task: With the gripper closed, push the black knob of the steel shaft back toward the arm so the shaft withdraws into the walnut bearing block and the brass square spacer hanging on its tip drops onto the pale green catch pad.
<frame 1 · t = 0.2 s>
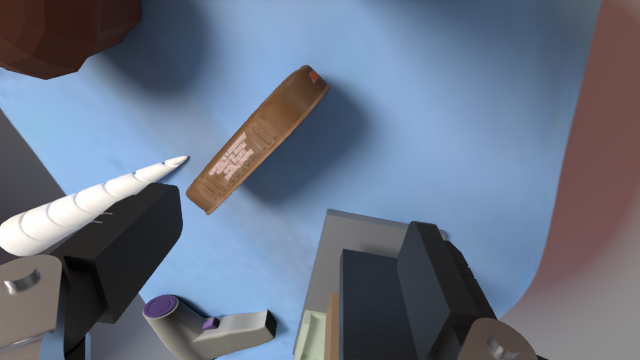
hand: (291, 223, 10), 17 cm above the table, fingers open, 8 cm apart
infrared thermometer: (218, 307, 42), on the table
shaft rig: (355, 301, 38), on the table
tin: (266, 124, 27), on the table
unicorn horn: (101, 191, 33), on the table
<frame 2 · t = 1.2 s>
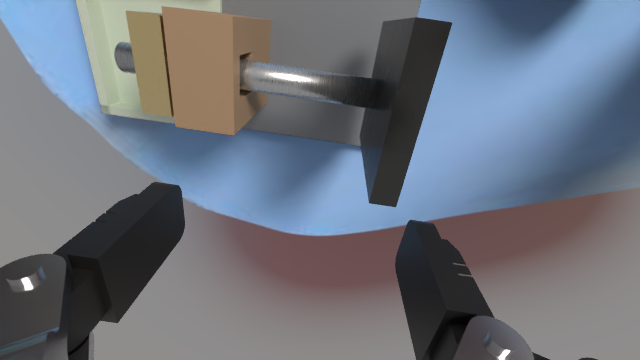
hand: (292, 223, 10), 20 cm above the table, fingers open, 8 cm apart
shaft rig: (250, 59, 27), on the table
shaft: (254, 81, 19), point 10 cm above the table, slide at 0.0 cm, touching spacer
spacer: (194, 58, 23), point 4 cm above the table, touching shaft
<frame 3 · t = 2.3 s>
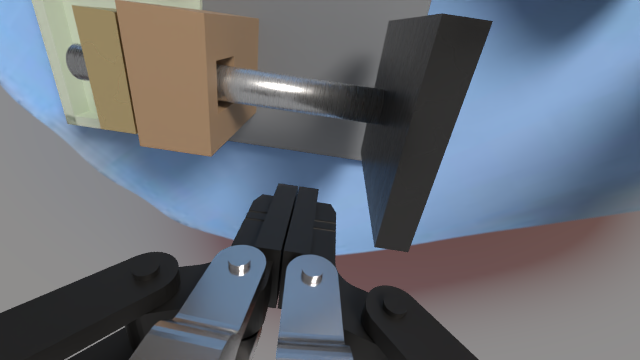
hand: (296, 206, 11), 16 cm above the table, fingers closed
shaft rig: (236, 63, 24), on the table
shaft: (234, 91, 15), point 10 cm above the table, slide at 0.0 cm, touching spacer
spacer: (168, 62, 20), point 4 cm above the table, touching shaft
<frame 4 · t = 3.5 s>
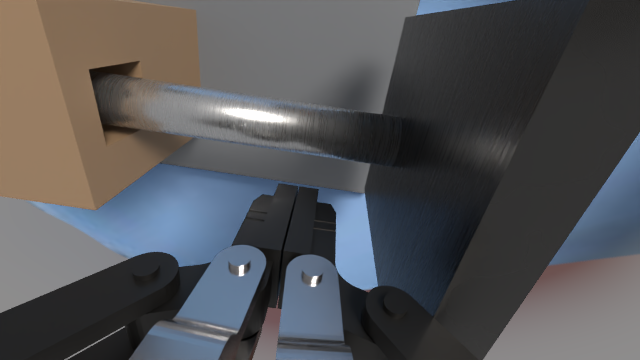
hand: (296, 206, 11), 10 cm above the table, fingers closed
shaft rig: (175, 68, 19), on the table
shaft: (177, 123, 10), point 9 cm above the table, slide at 1.9 cm, touching hand, spacer
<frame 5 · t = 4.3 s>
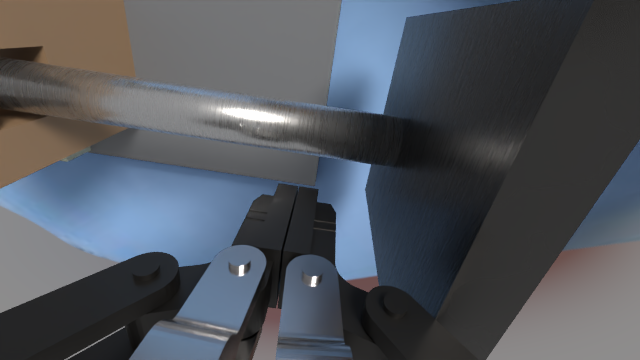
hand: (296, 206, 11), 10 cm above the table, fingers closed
shaft rig: (113, 59, 19), on the table
shaft: (178, 123, 10), point 9 cm above the table, slide at 6.0 cm, touching hand
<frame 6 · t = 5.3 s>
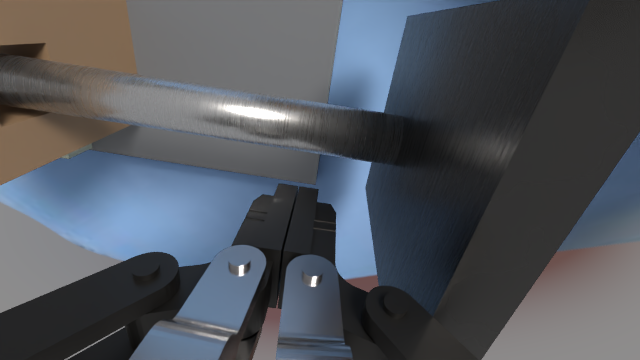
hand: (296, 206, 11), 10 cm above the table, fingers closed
shaft rig: (114, 56, 19), on the table
shaft: (179, 120, 10), point 10 cm above the table, slide at 6.0 cm
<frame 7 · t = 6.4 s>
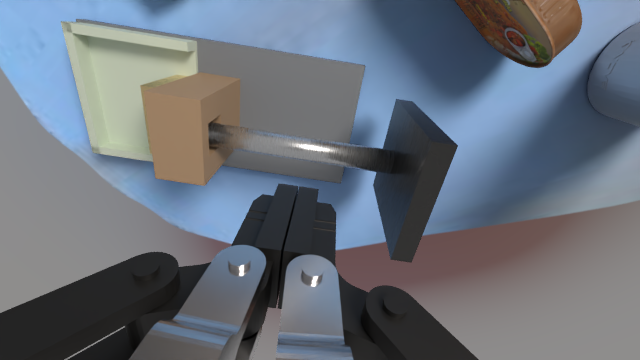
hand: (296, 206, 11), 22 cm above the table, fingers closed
shaft rig: (224, 107, 31), on the table
shaft: (295, 154, 23), point 9 cm above the table, slide at 6.0 cm
spacer: (188, 106, 30), point 1 cm above the table, touching shaft rig
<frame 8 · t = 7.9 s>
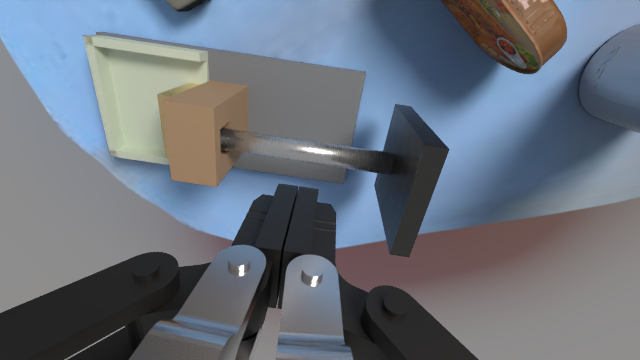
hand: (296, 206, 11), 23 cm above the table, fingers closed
shaft rig: (232, 113, 33), on the table
shaft: (301, 157, 25), point 10 cm above the table, slide at 6.0 cm
tin: (465, 0, 27), on the table
spacer: (199, 112, 32), point 1 cm above the table, touching shaft rig
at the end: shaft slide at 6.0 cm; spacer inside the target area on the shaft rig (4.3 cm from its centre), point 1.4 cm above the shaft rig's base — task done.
